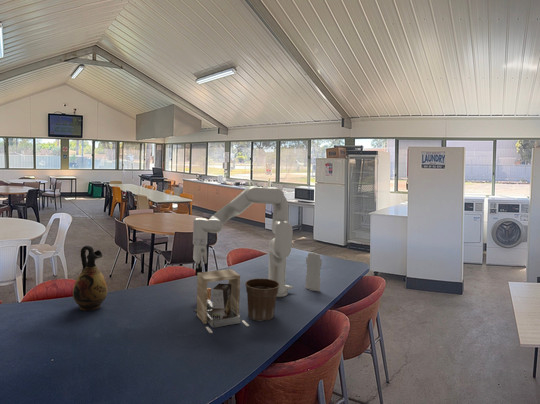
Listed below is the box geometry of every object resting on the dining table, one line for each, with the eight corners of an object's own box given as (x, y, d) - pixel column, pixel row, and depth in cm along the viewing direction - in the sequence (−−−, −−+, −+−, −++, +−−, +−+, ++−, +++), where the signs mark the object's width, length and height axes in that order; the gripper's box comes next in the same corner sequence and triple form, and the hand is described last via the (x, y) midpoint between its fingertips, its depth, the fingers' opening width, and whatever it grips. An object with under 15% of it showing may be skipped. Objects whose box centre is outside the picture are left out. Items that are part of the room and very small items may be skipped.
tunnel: (230, 309, 187) (231, 269, 185) (239, 317, 177) (240, 275, 176) (196, 315, 179) (197, 272, 177) (204, 324, 170) (204, 279, 168)
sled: (215, 299, 200) (215, 287, 200) (240, 322, 171) (240, 308, 171) (191, 302, 194) (191, 290, 194) (212, 327, 165) (213, 313, 165)
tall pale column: (303, 288, 224) (304, 251, 221) (306, 286, 227) (308, 250, 225) (318, 292, 217) (320, 254, 215) (322, 290, 220) (323, 253, 218)
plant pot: (282, 312, 185) (283, 280, 184) (272, 325, 170) (273, 290, 168) (251, 307, 190) (252, 276, 189) (238, 319, 175) (239, 286, 174)
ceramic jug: (114, 304, 189) (114, 245, 186) (88, 315, 175) (87, 251, 172) (90, 298, 196) (89, 241, 193) (63, 308, 182) (62, 247, 180)
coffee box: (225, 325, 169) (225, 290, 167) (211, 323, 170) (212, 288, 169) (231, 317, 178) (232, 283, 176) (218, 316, 179) (218, 282, 178)
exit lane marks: (243, 320, 174) (243, 320, 174) (249, 325, 169) (249, 325, 169) (205, 327, 166) (205, 327, 166) (210, 333, 160) (210, 332, 160)
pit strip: (224, 305, 193) (224, 304, 193) (226, 307, 190) (226, 306, 190) (193, 310, 185) (193, 309, 185) (195, 312, 183) (195, 311, 183)
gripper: (211, 243, 196) (210, 278, 197) (202, 238, 209) (201, 271, 210) (197, 244, 192) (196, 279, 194) (189, 238, 205) (187, 272, 207)
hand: (198, 275), depth 202 cm, fingers closed
